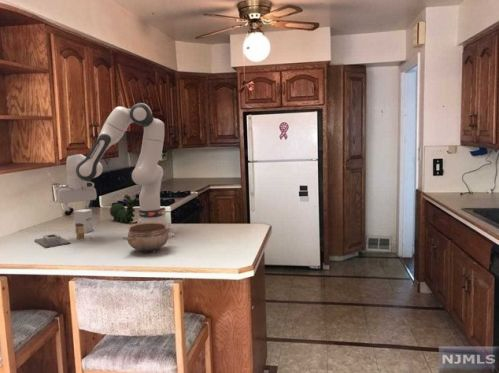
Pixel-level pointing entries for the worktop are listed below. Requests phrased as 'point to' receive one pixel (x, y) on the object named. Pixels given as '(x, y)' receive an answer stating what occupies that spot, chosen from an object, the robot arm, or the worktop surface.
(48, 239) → the base
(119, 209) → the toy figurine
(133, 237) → the cooking pot
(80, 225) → the brown wooden block
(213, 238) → the worktop surface
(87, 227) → the supplement box
